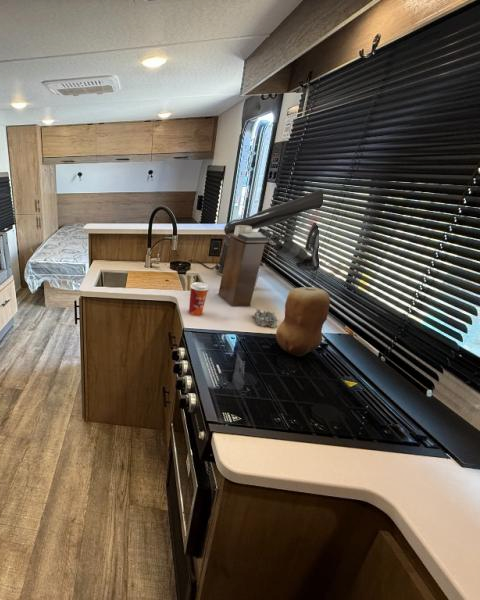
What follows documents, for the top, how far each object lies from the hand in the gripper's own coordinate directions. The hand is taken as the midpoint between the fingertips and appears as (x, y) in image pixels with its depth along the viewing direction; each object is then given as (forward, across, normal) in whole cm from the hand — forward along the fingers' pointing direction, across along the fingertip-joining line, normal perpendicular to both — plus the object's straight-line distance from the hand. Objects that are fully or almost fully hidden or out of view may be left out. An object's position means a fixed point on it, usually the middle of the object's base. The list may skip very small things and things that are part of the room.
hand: (260, 230), depth 145 cm
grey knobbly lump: (-11, +28, +33) cm, 45 cm away
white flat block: (+2, 0, +3) cm, 4 cm away
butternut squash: (-8, +52, +35) cm, 63 cm away
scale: (+6, +8, +6) cm, 12 cm away
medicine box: (-23, -11, +26) cm, 37 cm away
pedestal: (-10, +4, +34) cm, 35 cm away
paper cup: (+12, +18, +46) cm, 51 cm away
